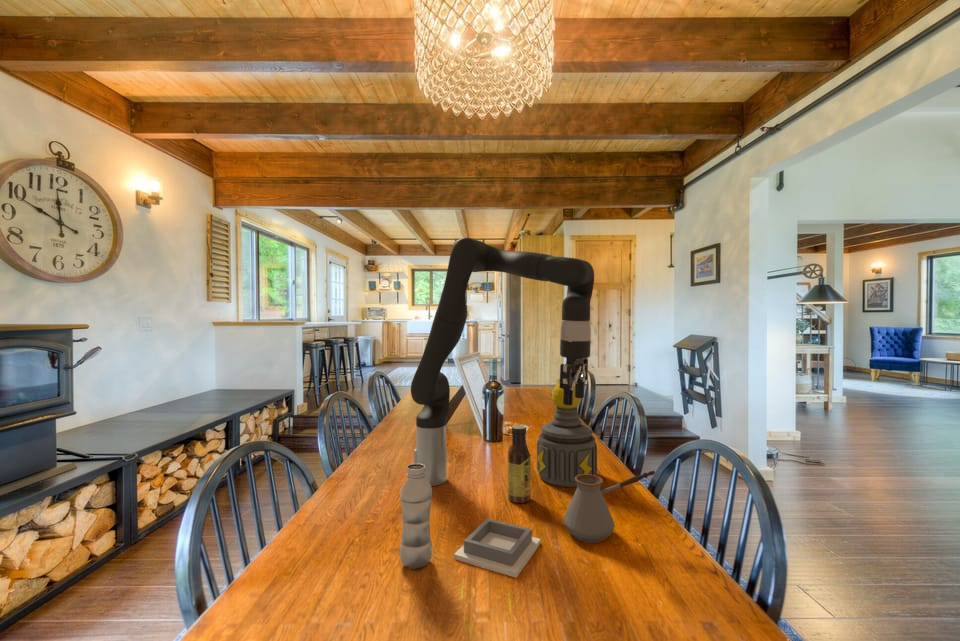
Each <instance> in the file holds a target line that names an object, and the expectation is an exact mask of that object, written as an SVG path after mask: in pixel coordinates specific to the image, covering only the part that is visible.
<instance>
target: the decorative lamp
mask: <svg viewBox="0 0 960 641" xmlns="http://www.w3.org/2000/svg"><path fill="white" fill-rule="evenodd" d="M575 384H576V383H575ZM575 384H574V387H573V404H572V405H564V403H563V395H564V389H562V388H560V386H559V385H560V382H559V383H557V384H556V385H555V386H554V387H553V388H552V392H551V399H552V401H553V404H554V406H555V409H554V411H555V412H554V414H553V417H554V418H553V419H552V421H550V422H547V423H545V424H543V425H542V426H541V428H540V429H541V433H540V434H539V435H538V439H537V442H536V470H537V472H538V476H539V478H541V480H543V481H544V482H545V483H547V484H550V485H553V486H556V485H557V486H556V487H561V488H562V487H564V488H577V487H578V486H577V482H576V481H575V477H576V476H577V475H580V474H591V475H596V476H597V475H598V445H597V442H596V438H595V437H594V435H593V429H592V427H591V426H589V425H587V424H585V423H582V422H581V420H580V414H579V413H578V412H579V411H578V410H579V409H578V407H579V405H580V403H581V401H582V398H576V397H575Z"/></svg>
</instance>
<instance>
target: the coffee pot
mask: <svg viewBox="0 0 960 641" xmlns="http://www.w3.org/2000/svg"><path fill="white" fill-rule="evenodd" d="M653 475H654V477H655V479H656V480H659V477H658V475H657V473H656V471H655V470H651V471H649V472H643V474H639V475H635V476H634V475H633V477H630V478H628V479H626V480H624V481H621V482H620V483H616V484H614V485H612V486H609V487H607V488H603V489H601V486H602V484H603V483H604V480H603V478H602V477H601V476H599V475H597V474H596V475H591V474H580V475H577V476H576V477H575V481H576V482H577V486H578V487H576V490H575V492H574V494H573V496H572V498H571V500H570V503H569V505H568V507H567V510H566V512H565V514H564V516H563V524H564V525H565V527H566V529H567V531H568V532H569V533H571V535H572V536H573V537H574V538H575V539H577V540H579V541H581V542H584V543H592V544H594V543H595V544H596V543H600V542H603V541H605V539H607V538H608V537H610V535H611V534H613V532H614V529H615V527H616V525H615V521H614V518H613V516H612V514H611V511H610V509H609V507H608V504H607V502H606V499H605V498H604V495H605V494H607V493H610V492H612V491H614V490H616V489H618V488H622V487H625V486H629V485H632V484H635V483H638V482H639V481H641V480H643V479H648V477H649V476H653Z"/></svg>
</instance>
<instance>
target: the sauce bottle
mask: <svg viewBox="0 0 960 641" xmlns="http://www.w3.org/2000/svg"><path fill="white" fill-rule="evenodd" d="M526 433H527V427H526V426H525V425H513V426H511V436H512V437H511V438H512V439H511V445H510V446H509V447H508V450H507V495H508V496H507V497H508V500H509V501H510V502H512V503H515V504H516V503H517V504H523V503H526V502H528V501H529V500H530V499H531V454H530V451H529V448H528V445H527V441H526V440H527V438H526V435H527V434H526Z"/></svg>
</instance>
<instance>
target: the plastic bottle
mask: <svg viewBox="0 0 960 641" xmlns="http://www.w3.org/2000/svg"><path fill="white" fill-rule="evenodd" d="M405 475H406V477H407V479H406V480H405V481H404V483H403V485H402V486H401V489H400V492H399V496H400V504H401V513H402V515H401V517H402V532H401V542H400V546H399V560H400V561H401V563H402V564H403V566H404V567H406V568H408V569H412V570H414V569H421V568H424V567H426V566H427V565H428V564H429V562H430V561H431V560H432V557H433V556H432V555H433V552H434V551H433V544H432V542H433V541H432V538H431V526H430V517H431V508H432V499H433V489H432V486H431V485H430V484H429V482H428V481H427V480H426V479H425V478H424V476H425V475H426V472H425V465H423V464H414V463H411V464H408V465H406V474H405Z"/></svg>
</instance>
